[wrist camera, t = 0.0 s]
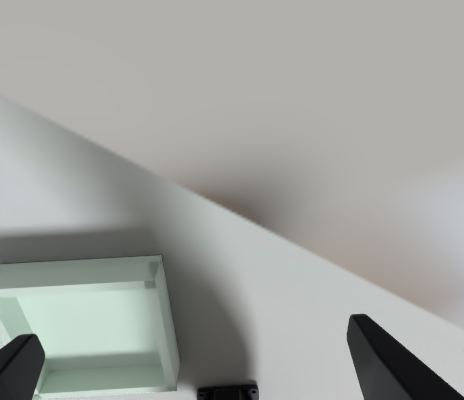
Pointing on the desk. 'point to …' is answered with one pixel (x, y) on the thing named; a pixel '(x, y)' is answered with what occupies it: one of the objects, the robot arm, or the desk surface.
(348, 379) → the desk surface
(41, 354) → the robot arm
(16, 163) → the desk surface
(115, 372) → the tray
